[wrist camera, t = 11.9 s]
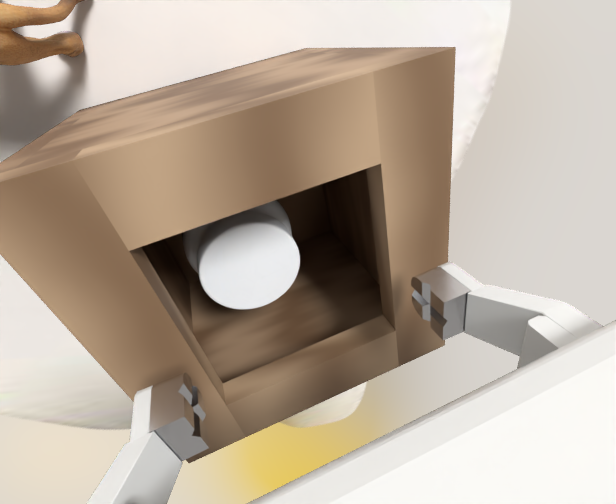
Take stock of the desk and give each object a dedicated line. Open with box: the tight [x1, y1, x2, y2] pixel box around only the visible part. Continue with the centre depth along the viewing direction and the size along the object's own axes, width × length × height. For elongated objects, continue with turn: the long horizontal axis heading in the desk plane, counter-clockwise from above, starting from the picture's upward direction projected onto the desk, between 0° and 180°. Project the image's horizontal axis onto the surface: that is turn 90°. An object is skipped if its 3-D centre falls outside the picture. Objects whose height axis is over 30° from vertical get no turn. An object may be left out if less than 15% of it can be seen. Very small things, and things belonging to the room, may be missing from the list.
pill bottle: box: [182, 200, 300, 309], centre depth 19 cm, size 6×6×10 cm
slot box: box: [0, 47, 455, 463], centre depth 19 cm, size 14×14×14 cm
